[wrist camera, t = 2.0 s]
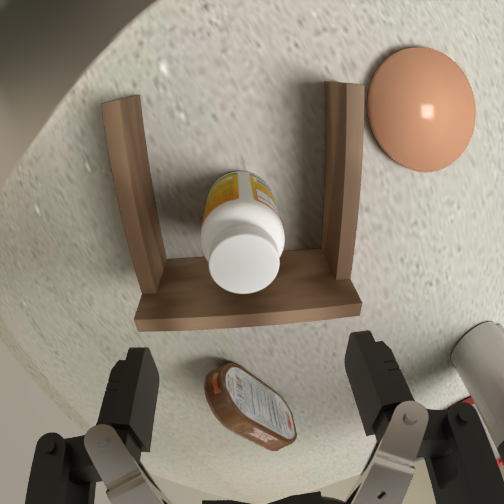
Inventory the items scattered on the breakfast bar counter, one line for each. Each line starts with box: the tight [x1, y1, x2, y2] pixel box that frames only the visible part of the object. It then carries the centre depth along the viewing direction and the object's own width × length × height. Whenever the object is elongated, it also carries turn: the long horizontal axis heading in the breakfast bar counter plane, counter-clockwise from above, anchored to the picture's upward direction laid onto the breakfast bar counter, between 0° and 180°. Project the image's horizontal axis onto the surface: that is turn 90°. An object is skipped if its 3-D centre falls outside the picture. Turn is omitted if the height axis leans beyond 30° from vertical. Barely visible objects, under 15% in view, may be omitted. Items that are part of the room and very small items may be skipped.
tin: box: [204, 363, 297, 451], centre depth 35 cm, size 15×3×8 cm, turn 37°
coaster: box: [367, 47, 476, 172], centre depth 22 cm, size 11×11×1 cm
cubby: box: [101, 82, 364, 332], centre depth 22 cm, size 16×16×8 cm
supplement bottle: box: [200, 171, 285, 294], centre depth 22 cm, size 5×5×10 cm
